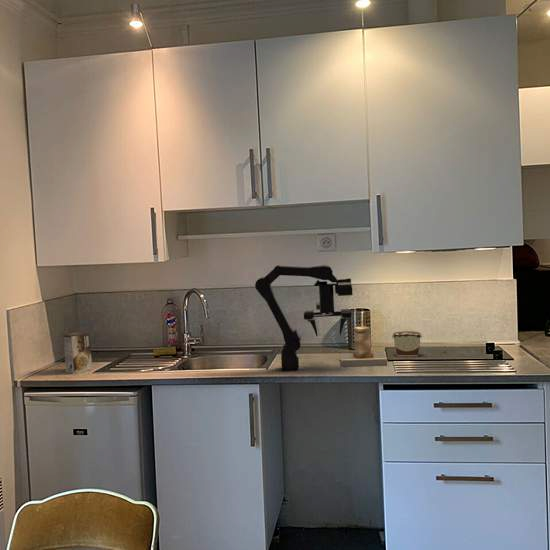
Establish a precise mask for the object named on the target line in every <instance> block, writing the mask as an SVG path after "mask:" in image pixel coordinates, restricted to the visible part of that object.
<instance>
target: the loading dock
mask: <svg viewBox="0 0 550 550" xmlns="http://www.w3.org/2000/svg"><path fill="white" fill-rule="evenodd" d="M372 353H373V356H374V358H362V359H358V358H356V357H354V356H353V353H340V354H339V355H340V365H341V367H342V368H343V367H344V368H346V367H373V366H374V367H375V366H376V367H377V366H379V367H380V366H381V365H383V366H388V358H387V357H386V355H385V352H372ZM381 367H382V366H381Z"/></svg>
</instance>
